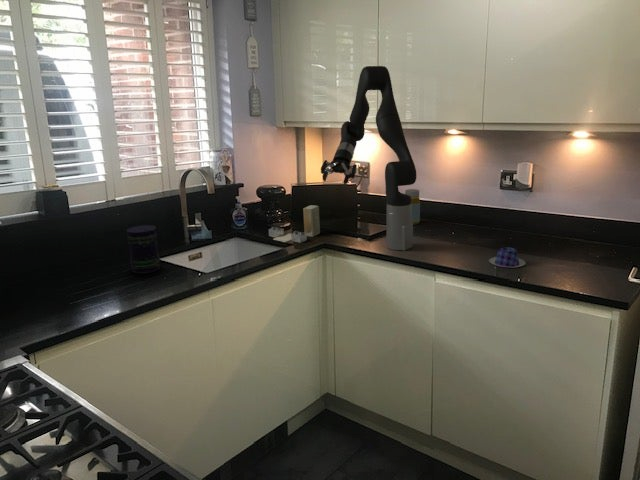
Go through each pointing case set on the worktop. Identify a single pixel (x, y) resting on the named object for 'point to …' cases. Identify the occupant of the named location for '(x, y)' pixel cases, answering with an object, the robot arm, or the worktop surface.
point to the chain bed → (295, 235)
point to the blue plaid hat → (507, 258)
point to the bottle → (414, 205)
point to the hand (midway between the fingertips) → (334, 181)
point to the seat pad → (284, 238)
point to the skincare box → (311, 220)
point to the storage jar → (143, 248)
